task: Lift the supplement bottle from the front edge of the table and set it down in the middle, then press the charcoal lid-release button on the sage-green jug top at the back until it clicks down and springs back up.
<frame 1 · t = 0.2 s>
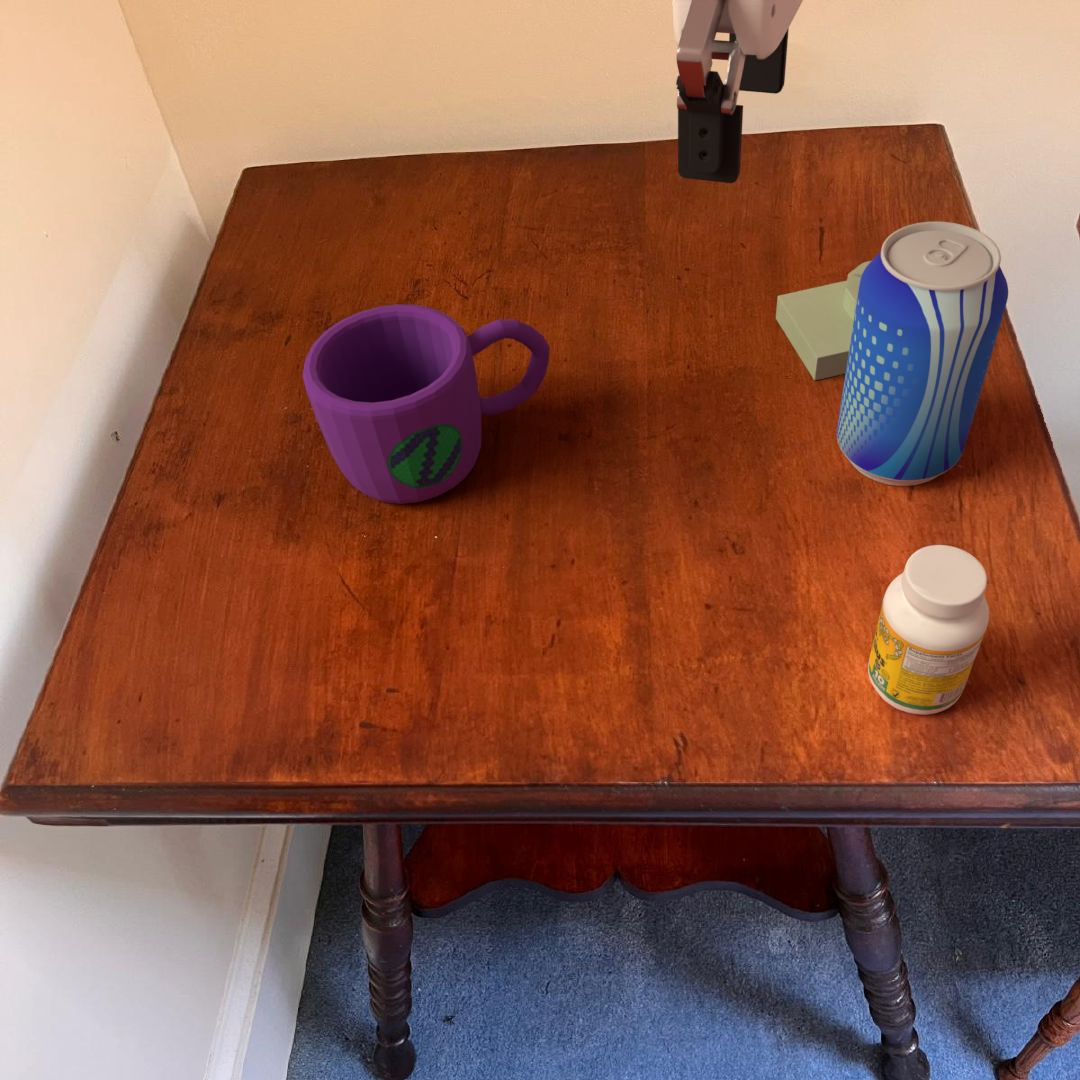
hand: (733, 131, 57), 23 cm above the table, tool pointing down, fingers open, 9 cm apart
beer can: (896, 452, 72), on the table
supplement bottle: (913, 679, 60), on the table
mug: (451, 446, 77), on the table
lid button: (895, 279, 77), point 4 cm above the table, slide at 0.1 cm
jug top: (861, 333, 80), on the table
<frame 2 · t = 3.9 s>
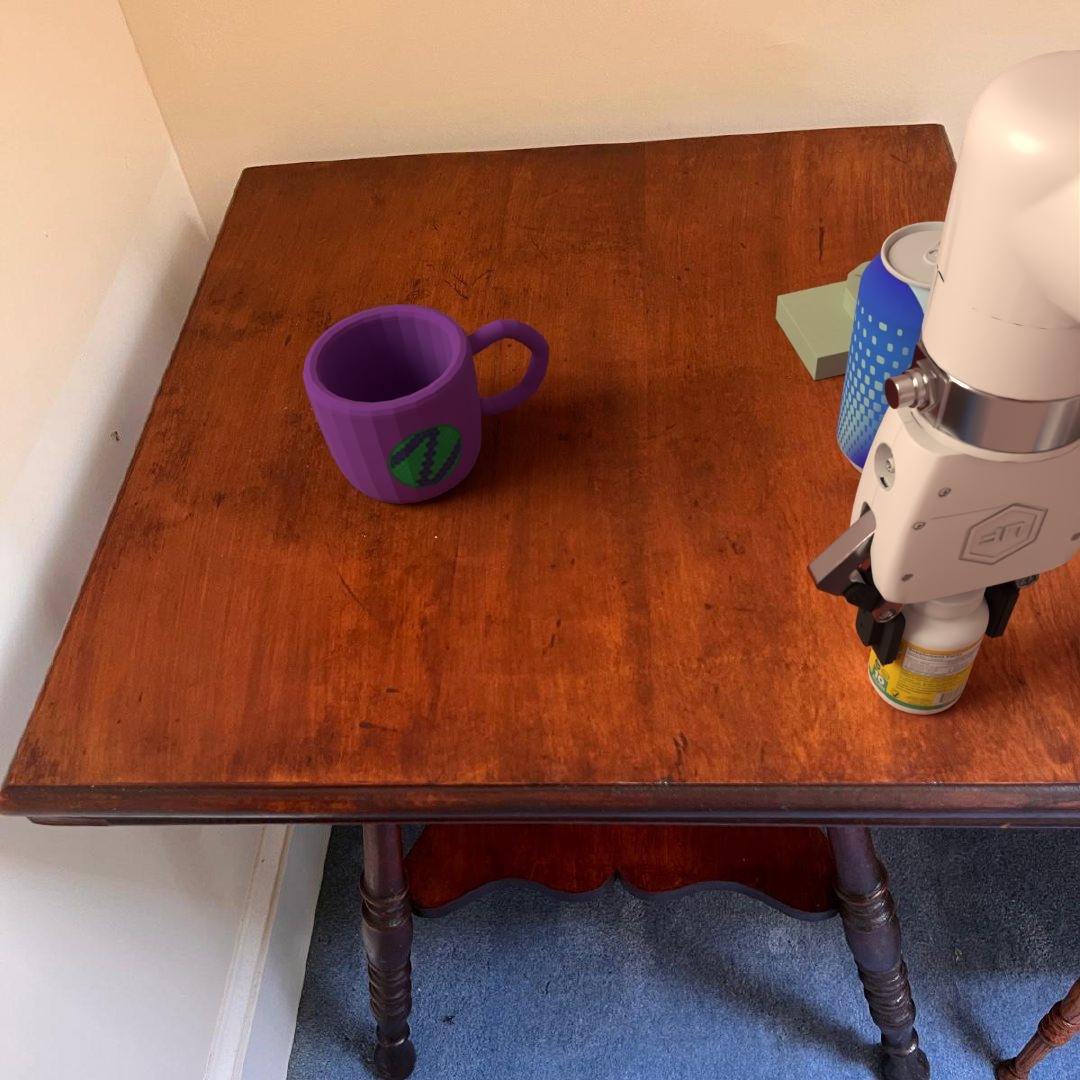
hand: (929, 628, 56), 5 cm above the table, tool pointing down, fingers closed on supplement bottle, 5 cm apart
supplement bottle: (913, 679, 60), on the table, touching gripper
everything else where it was.
when the fingers open (5 cm above the table, at t = 10.1 s): supplement bottle stays where it is, on the table.
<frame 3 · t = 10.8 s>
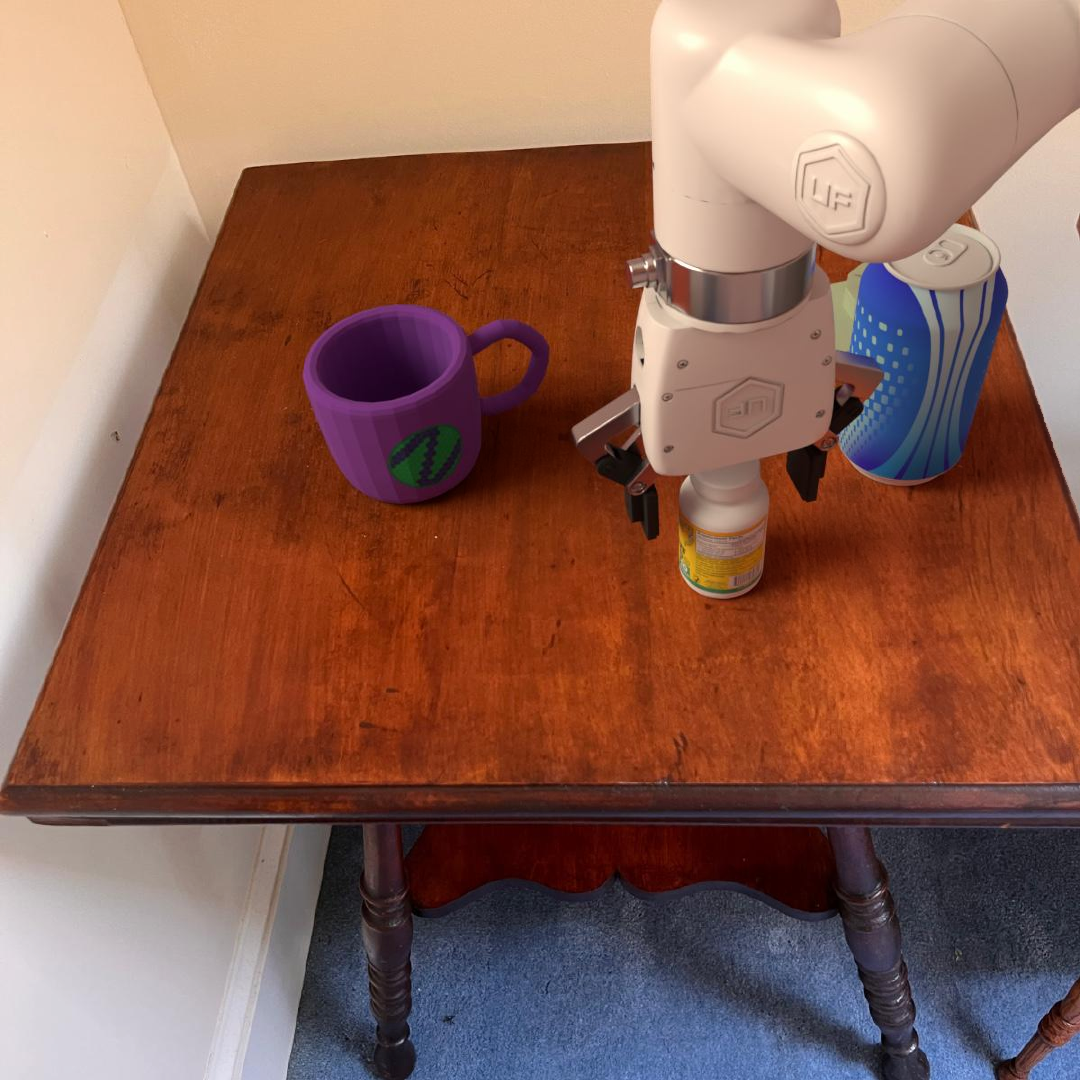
hand: (723, 504, 62), 6 cm above the table, tool pointing down, fingers open, 9 cm apart
supplement bottle: (720, 570, 67), on the table
everything else where it was.
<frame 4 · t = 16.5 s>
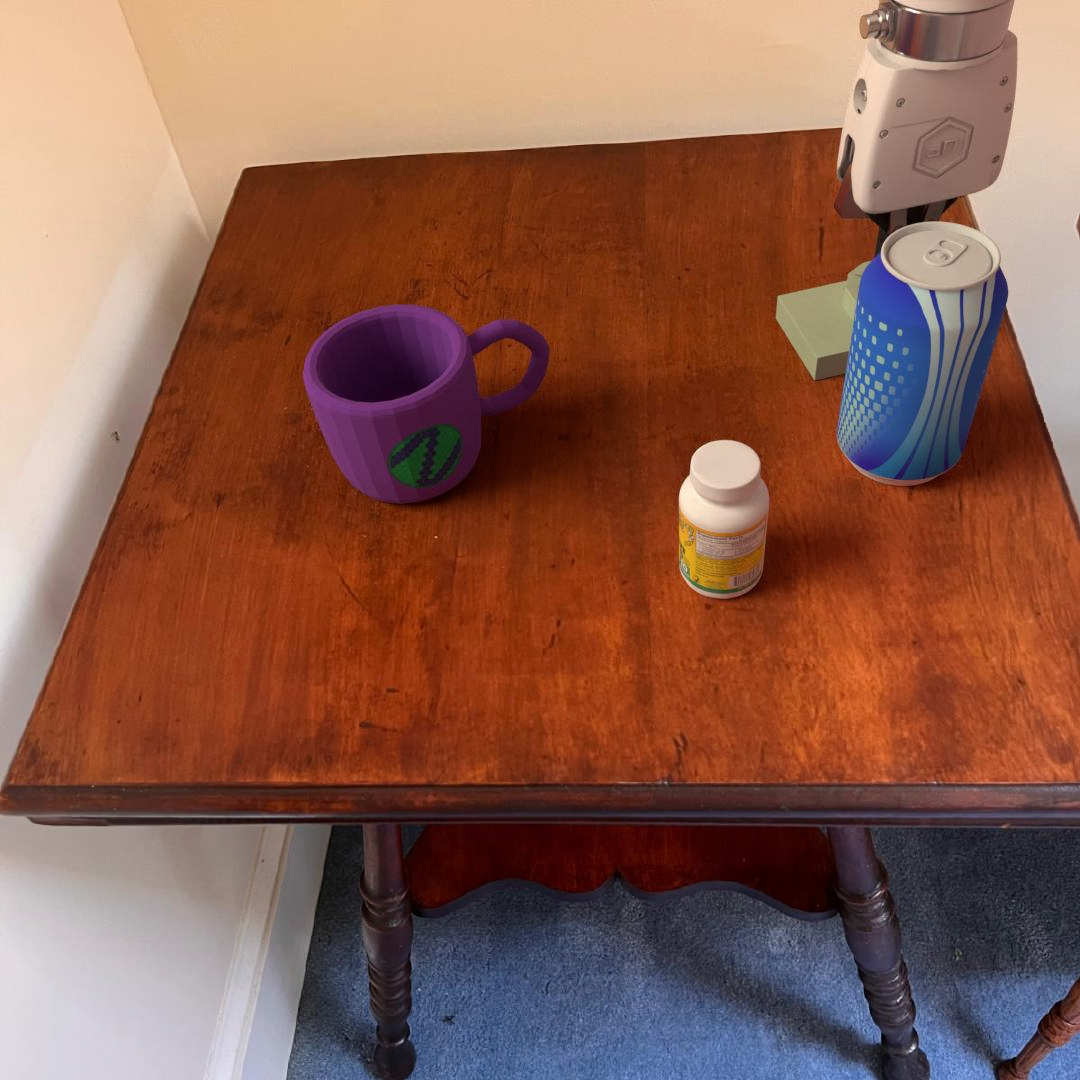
hand: (895, 272, 77), 5 cm above the table, tool pointing down, fingers closed
lid button: (894, 283, 77), point 4 cm above the table, slide at -0.2 cm, touching gripper
everything else where it was.
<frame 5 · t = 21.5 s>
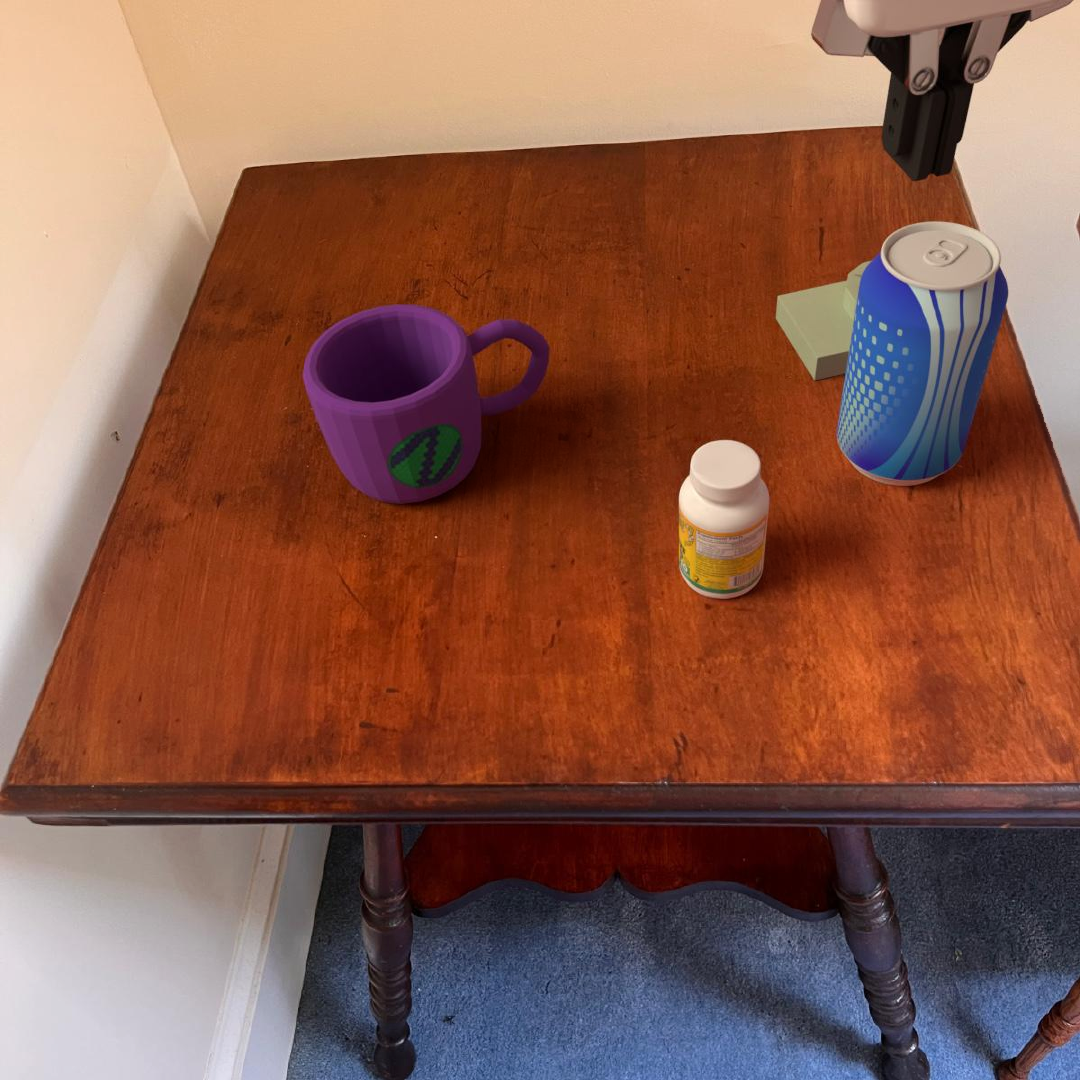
hand: (916, 162, 46), 27 cm above the table, tool pointing down, fingers closed
lid button: (895, 279, 77), point 4 cm above the table, slide at 0.1 cm
everything else where it was.
at the end: supplement bottle inside the target area (0.0 cm from its centre), on the table; lid button pushed in 1.1 cm at the most during the clip, back to where it started at the end; lid button slide at 0.1 cm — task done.
